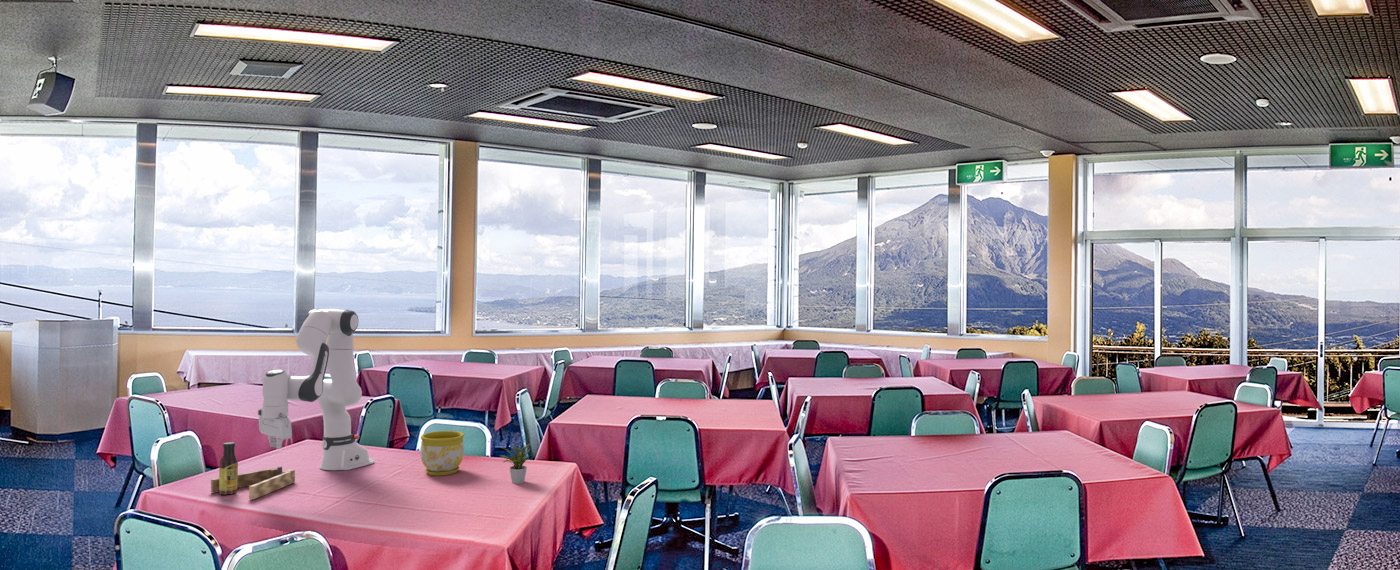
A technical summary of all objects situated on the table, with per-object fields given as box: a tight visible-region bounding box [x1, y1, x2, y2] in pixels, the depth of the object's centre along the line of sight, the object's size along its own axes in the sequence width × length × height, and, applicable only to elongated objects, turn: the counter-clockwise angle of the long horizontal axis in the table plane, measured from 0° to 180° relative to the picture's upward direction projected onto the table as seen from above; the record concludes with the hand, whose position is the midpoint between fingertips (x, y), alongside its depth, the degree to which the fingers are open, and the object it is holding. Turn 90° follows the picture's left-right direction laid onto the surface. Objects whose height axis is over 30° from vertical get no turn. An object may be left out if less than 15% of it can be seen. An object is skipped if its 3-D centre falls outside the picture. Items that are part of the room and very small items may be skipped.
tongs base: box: [210, 466, 283, 493], centre depth 321 cm, size 26×8×7 cm, turn 142°
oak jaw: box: [248, 469, 296, 500], centre depth 317 cm, size 26×4×5 cm, turn 172°
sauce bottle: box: [218, 441, 239, 496], centre depth 313 cm, size 6×6×20 cm
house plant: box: [499, 443, 533, 485], centre depth 335 cm, size 14×14×16 cm
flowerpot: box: [420, 430, 465, 477], centre depth 348 cm, size 18×18×16 cm
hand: (275, 447), depth 309 cm, fingers open, 3 cm apart
